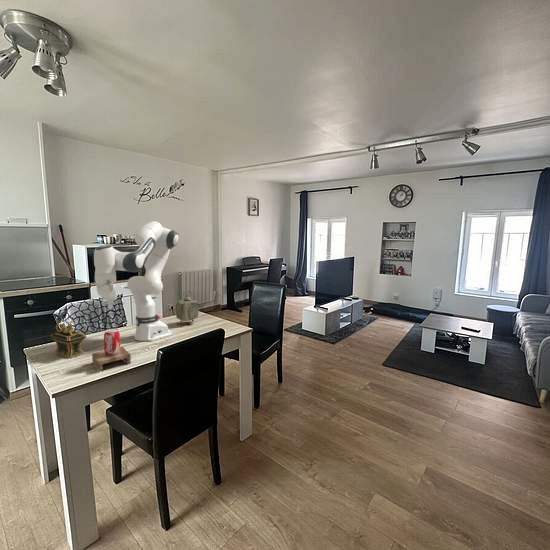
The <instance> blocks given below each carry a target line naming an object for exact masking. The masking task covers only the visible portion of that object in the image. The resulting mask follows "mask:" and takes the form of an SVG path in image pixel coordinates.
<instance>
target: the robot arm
mask: <svg viewBox="0 0 550 550" xmlns="http://www.w3.org/2000/svg"><path fill="white" fill-rule="evenodd" d="M179 240H180V235H179V233H178V232H177V231H175V230H173V229H172V230H171V229H170V228H166V227H163V225H162V224H161V223H159V221H155V220H153V221H150V222H147V223H146V224H144V225H143V226H141V227H140V228H139V229H138V230H137V231H135V234H134V241H135V243H136V245H137V246H138V247H139V248H138V249H137V250H136V251H131V252H130V251H128V252H127V251H119V250H118V249H115V248H114V246H112V245H109V244H108V245H100V246H97V247H95V249H94V251H93V263H94V264H93V265H94V267H95V271H94V282H95V285H96V292H97V295H98V296H100V298H101V302H102V305H103V306H107V309H108V310H112V309H113V307H114V306H113V305H114V302H115V301H117V298H118V295H117V289H116V285H115V283H117V272H116V271H122V272H130V273H137V272H139V271H141V269H142V268H143V266H144V269H145V274H144V276H143V275H136V276H135V275H134V276H132V277H130V278H128V280H127V283H126V284H127V288H128V290H129V291H130V293H131V294H132V297H133V300H134V303H135V325H136V326H135V333H134V340H135V341H142V342H144V341H146V342H154V341H157V340H160V338H161V339H164V338H166V337H170V336H172V335H173V332H172V330H170V329H169V326H168V325H167V324H166V323H165V322H164V321H162V320H161V319H162V316H161V315H159V314H157V313H156V303H155V301H154V300H153V298H152V296H156V295H159V294H161V293H162V292H163V288H164V284H163V281H162V272H163V270H164V267H165V265H166V263H167V261H168V258H169V256H170V253H171V249H173V248H174V247H176V246H177V245H178V244H179Z"/></svg>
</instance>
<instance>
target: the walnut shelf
mask: <svg viewBox="0 0 550 550" xmlns="http://www.w3.org/2000/svg"><path fill="white" fill-rule="evenodd" d="M91 357H92V365H95V366H94V368H96V370H97V369H98V370H97V371H98V372H99V373H100V371H101V372H104V370H103V369H104V368H103V365H104V364H108V363H112V362H115V361H121V360H123V361H124V362H125V363H126V365H131V364H130V363H131V353H129V352H128V350H126V348H125V347H123V346H120V352H119V353H117V354H115V355H107V354H105V350H102V351H101V350H100V351H97V352H93V353H91Z"/></svg>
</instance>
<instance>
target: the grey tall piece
mask: <svg viewBox="0 0 550 550" xmlns="http://www.w3.org/2000/svg"><path fill="white" fill-rule="evenodd" d="M188 292H190V294H186V295H185V293H188ZM191 295H193V293H192V291H191V290H185V291H183V293H182V296H183V297H184V298H183V299H181V300H178V301H177V302H176V303H175V316H176V319H179V320H180V321H179V322H178V325H179V326H180V325H181V324H182V322H187V321H188V325H189V326H190V325H191V322H194V320H195V319H197V318H198V317H199V313H200V312H199V310H200V309H199V303H198V300H194V299H192V298H191ZM190 321H191V322H190Z"/></svg>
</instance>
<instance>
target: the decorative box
mask: <svg viewBox="0 0 550 550" xmlns="http://www.w3.org/2000/svg"><path fill="white" fill-rule="evenodd" d="M54 319H55V322H56V325H55V329H56V331H57V332H54V333H52V334H51V335H50V336H49V338H50V339H51V340H53V341H54V342H55V344H56V350H55V352H54V354H55V355H57V356H61V357H64V358H66V359H72V358H74V357H78V356H80V355H81V356H82V355H83V354H84V353H85V352H84V350H83V349H82V346H81V345H82V342H83V341H84V340H85V339H86V338H87V335H86V334H84V333H82V332H80V331H76V330H74V329H75V328H74V327H73V324H72V323H73V322H74V321H76V320H77V318H76V317H74V318H73V319H72V320H71V321H70V322H69V323H68V325H67V328H66V324H65V323H61V325H60V330H59V324H60V322H59V320H58V319H57V318H54Z"/></svg>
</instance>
